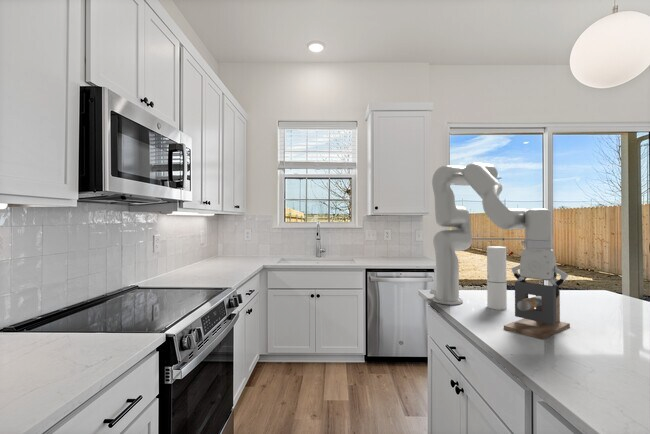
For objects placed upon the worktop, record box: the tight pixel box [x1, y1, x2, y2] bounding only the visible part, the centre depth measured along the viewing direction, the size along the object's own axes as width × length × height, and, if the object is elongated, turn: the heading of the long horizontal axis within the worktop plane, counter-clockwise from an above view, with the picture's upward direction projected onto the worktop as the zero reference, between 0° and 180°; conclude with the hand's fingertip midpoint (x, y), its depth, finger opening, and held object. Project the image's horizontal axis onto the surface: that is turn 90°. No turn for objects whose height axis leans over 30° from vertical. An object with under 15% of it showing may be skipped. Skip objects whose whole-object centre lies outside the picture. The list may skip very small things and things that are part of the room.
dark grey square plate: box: [514, 280, 556, 325], centre depth 116 cm, size 12×2×12 cm, turn 35°
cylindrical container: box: [486, 245, 508, 311], centre depth 143 cm, size 7×7×25 cm
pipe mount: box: [503, 289, 571, 340], centre depth 117 cm, size 12×20×12 cm, turn 125°
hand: (538, 295), depth 117 cm, fingers open, 9 cm apart
